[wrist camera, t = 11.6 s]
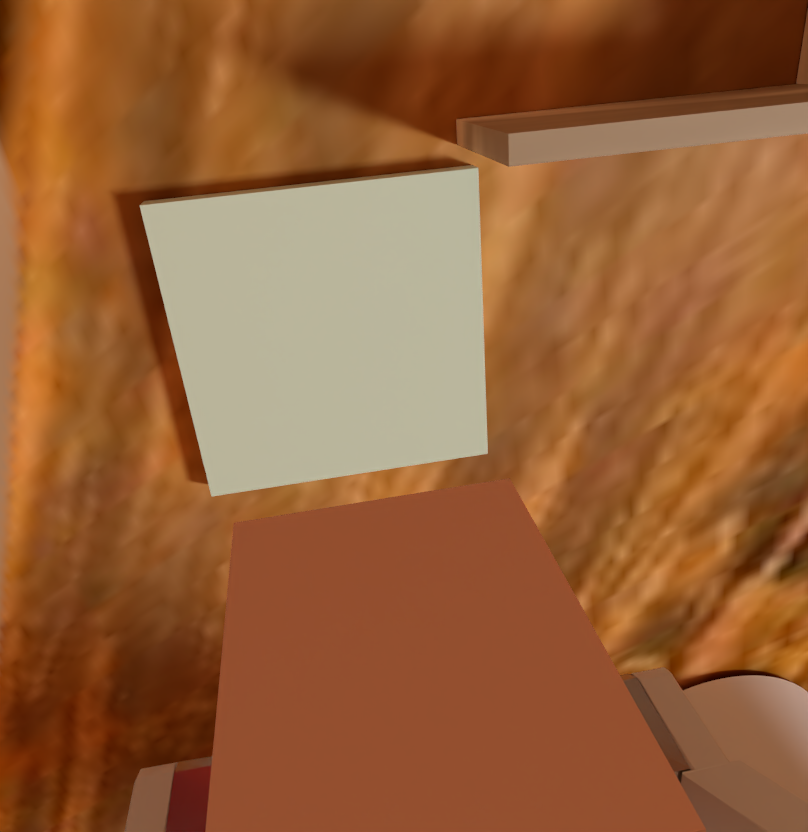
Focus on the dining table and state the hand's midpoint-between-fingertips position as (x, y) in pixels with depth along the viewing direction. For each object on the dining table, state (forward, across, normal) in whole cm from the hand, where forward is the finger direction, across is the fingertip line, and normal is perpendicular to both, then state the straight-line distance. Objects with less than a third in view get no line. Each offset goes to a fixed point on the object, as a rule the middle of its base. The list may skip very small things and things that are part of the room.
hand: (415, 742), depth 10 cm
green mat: (+18, 0, 0) cm, 18 cm away
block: (+3, 0, 0) cm, 3 cm away
